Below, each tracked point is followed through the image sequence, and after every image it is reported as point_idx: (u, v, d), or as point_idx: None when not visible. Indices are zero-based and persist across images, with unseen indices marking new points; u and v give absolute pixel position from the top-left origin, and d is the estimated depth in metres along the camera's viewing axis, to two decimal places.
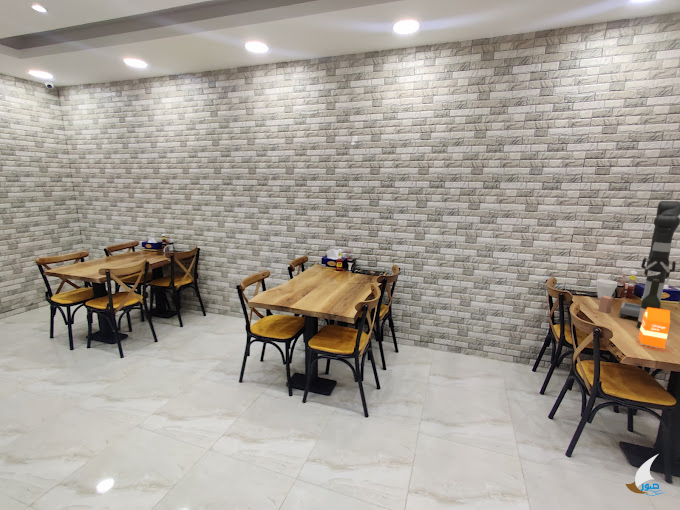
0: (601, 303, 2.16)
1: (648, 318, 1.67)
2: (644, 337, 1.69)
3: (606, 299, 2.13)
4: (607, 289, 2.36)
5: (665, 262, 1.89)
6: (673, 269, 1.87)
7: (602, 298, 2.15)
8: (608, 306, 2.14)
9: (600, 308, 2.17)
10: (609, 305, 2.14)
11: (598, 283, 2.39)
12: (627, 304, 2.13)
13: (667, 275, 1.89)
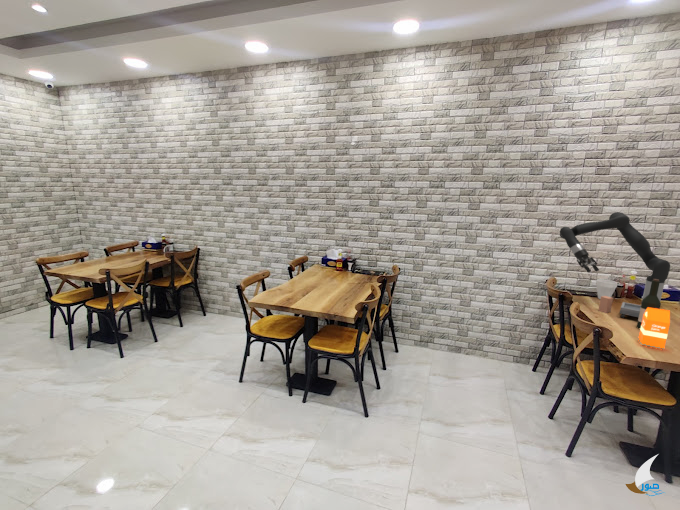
0: (601, 303, 2.16)
1: (648, 318, 1.67)
2: (644, 337, 1.69)
3: (606, 299, 2.13)
4: (607, 289, 2.36)
5: None
6: None
7: (602, 298, 2.15)
8: (608, 306, 2.14)
9: (600, 308, 2.17)
10: (609, 305, 2.14)
11: (598, 283, 2.39)
12: (627, 304, 2.13)
13: (586, 270, 2.21)
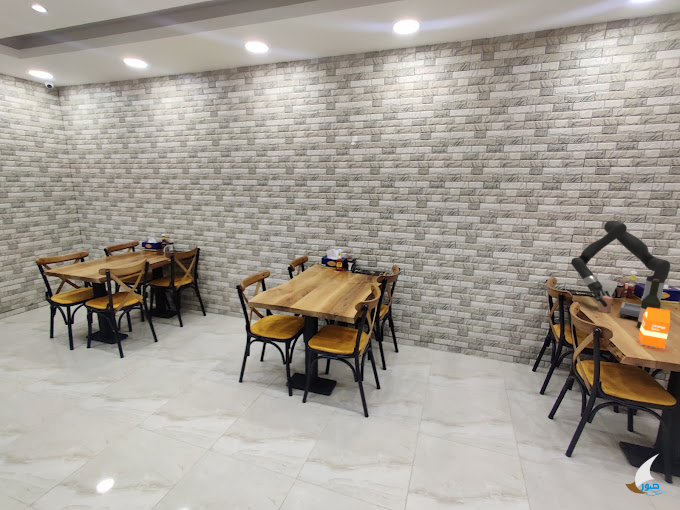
0: (601, 303, 2.16)
1: (648, 318, 1.67)
2: (644, 337, 1.69)
3: (606, 299, 2.13)
4: (607, 289, 2.36)
5: None
6: None
7: None
8: (608, 306, 2.14)
9: (600, 308, 2.17)
10: (609, 305, 2.14)
11: None
12: (627, 304, 2.13)
13: (602, 304, 2.15)
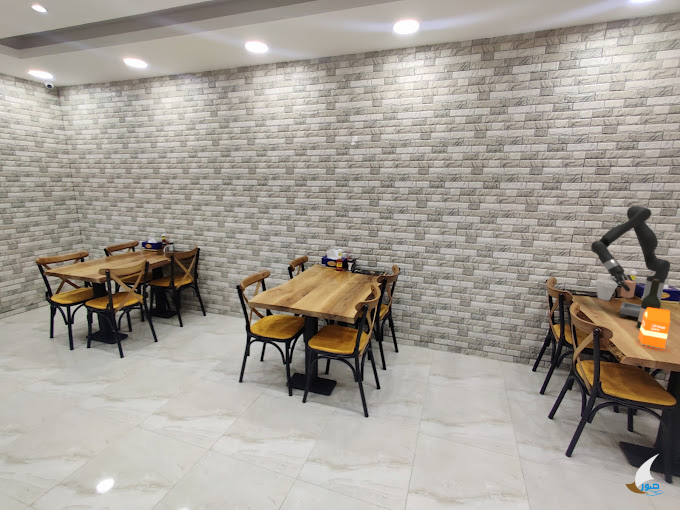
0: (623, 288, 2.07)
1: (648, 318, 1.67)
2: (644, 337, 1.69)
3: (629, 283, 2.04)
4: (607, 289, 2.36)
5: None
6: None
7: None
8: (631, 290, 2.05)
9: (622, 293, 2.08)
10: (632, 290, 2.05)
11: (598, 283, 2.39)
12: (627, 304, 2.13)
13: (625, 289, 2.06)
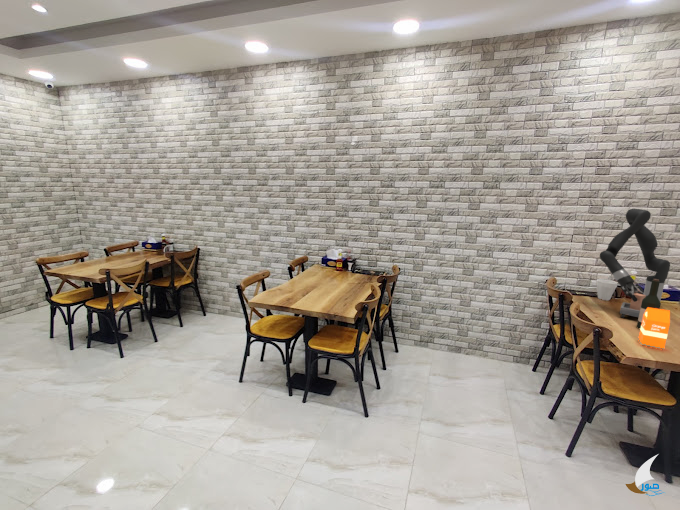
0: (633, 301, 2.05)
1: (648, 318, 1.67)
2: (644, 337, 1.69)
3: (638, 296, 2.02)
4: (607, 289, 2.36)
5: None
6: None
7: None
8: None
9: (631, 306, 2.05)
10: (641, 303, 2.02)
11: (598, 283, 2.39)
12: (627, 304, 2.13)
13: (632, 299, 2.03)
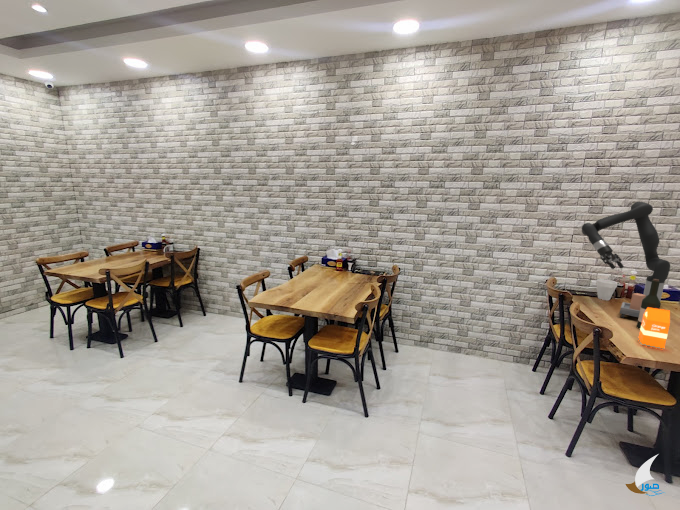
0: (633, 301, 2.05)
1: (648, 318, 1.67)
2: (644, 337, 1.69)
3: (638, 296, 2.02)
4: (607, 289, 2.36)
5: None
6: None
7: (634, 295, 2.04)
8: None
9: (631, 306, 2.05)
10: (641, 303, 2.02)
11: (598, 283, 2.39)
12: (627, 304, 2.13)
13: (610, 266, 2.16)
